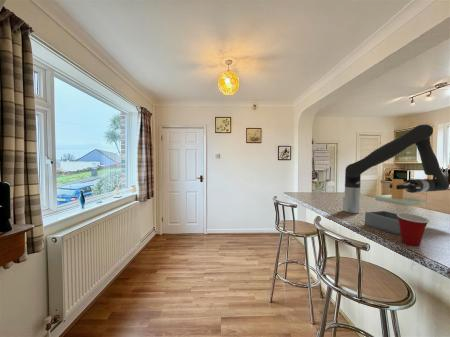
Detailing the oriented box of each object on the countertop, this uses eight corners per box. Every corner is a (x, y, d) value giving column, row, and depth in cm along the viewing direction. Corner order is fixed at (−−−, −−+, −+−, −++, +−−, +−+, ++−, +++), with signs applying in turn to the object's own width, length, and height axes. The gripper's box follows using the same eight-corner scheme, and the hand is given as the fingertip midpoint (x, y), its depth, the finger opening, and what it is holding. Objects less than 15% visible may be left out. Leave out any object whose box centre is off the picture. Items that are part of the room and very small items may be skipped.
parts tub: (364, 224, 122) (365, 212, 122) (383, 222, 126) (383, 210, 126) (399, 235, 105) (399, 221, 105) (418, 232, 109) (419, 218, 109)
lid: (371, 199, 124) (372, 178, 124) (389, 198, 129) (390, 177, 128) (405, 206, 107) (406, 181, 107) (425, 204, 111) (426, 180, 111)
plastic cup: (415, 250, 88) (417, 220, 87) (389, 240, 98) (390, 214, 98) (435, 247, 91) (436, 219, 90) (407, 238, 101) (408, 212, 101)
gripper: (403, 177, 128) (381, 178, 123) (431, 180, 115) (408, 181, 110) (402, 190, 129) (380, 191, 124) (431, 194, 115) (407, 195, 110)
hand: (393, 186), depth 117 cm, fingers closed on lid, 3 cm apart
